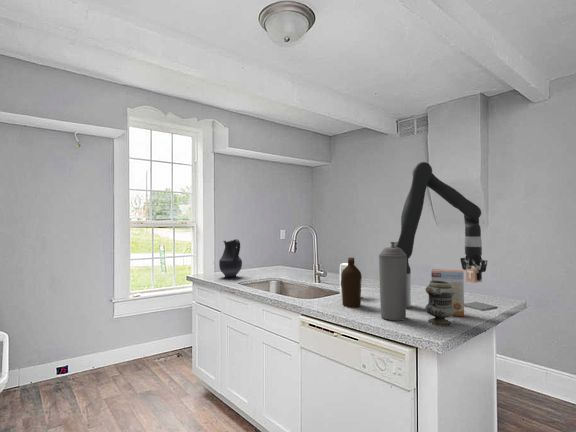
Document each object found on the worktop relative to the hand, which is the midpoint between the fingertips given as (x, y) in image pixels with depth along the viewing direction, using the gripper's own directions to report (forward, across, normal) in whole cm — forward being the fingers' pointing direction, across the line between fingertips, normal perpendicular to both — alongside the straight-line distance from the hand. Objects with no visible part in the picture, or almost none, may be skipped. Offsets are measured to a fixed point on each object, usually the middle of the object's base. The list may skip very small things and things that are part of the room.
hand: (473, 279), depth 180 cm
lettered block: (+1, 0, 0) cm, 1 cm away
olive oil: (+14, -34, -50) cm, 62 cm away
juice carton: (+14, -53, -40) cm, 67 cm away
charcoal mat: (+15, -3, +6) cm, 16 cm away
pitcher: (+13, -145, -84) cm, 168 cm away
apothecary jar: (+15, +9, -33) cm, 38 cm away
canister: (+14, -6, -47) cm, 49 cm away
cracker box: (+15, +1, -19) cm, 24 cm away
